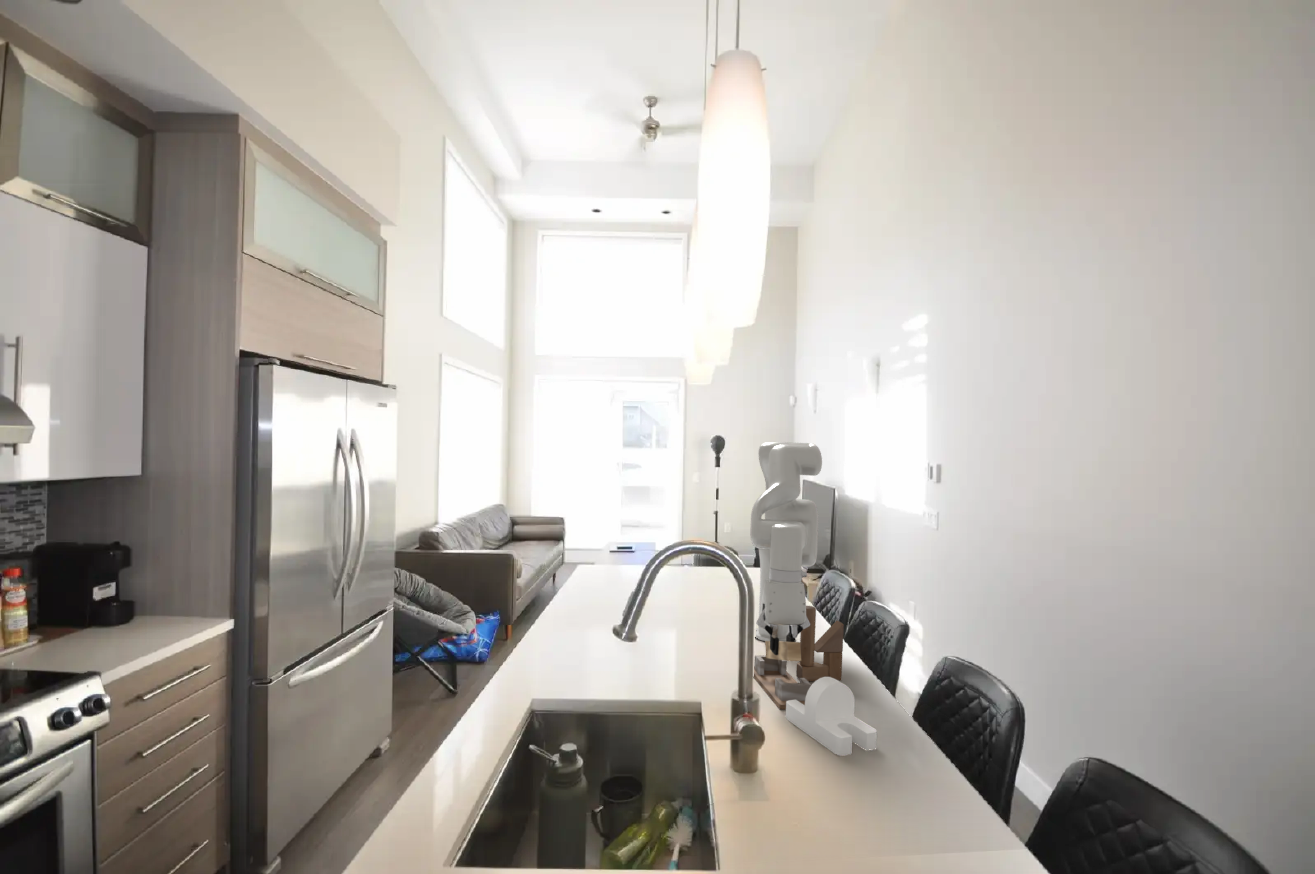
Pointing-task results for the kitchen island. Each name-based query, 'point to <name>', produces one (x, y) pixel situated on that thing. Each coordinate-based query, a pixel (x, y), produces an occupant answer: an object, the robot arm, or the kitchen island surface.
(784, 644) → the oak slat
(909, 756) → the kitchen island surface
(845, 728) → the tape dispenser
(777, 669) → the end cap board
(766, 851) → the kitchen island surface
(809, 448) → the robot arm
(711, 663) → the kitchen island surface
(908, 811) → the kitchen island surface
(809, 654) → the wooden block
